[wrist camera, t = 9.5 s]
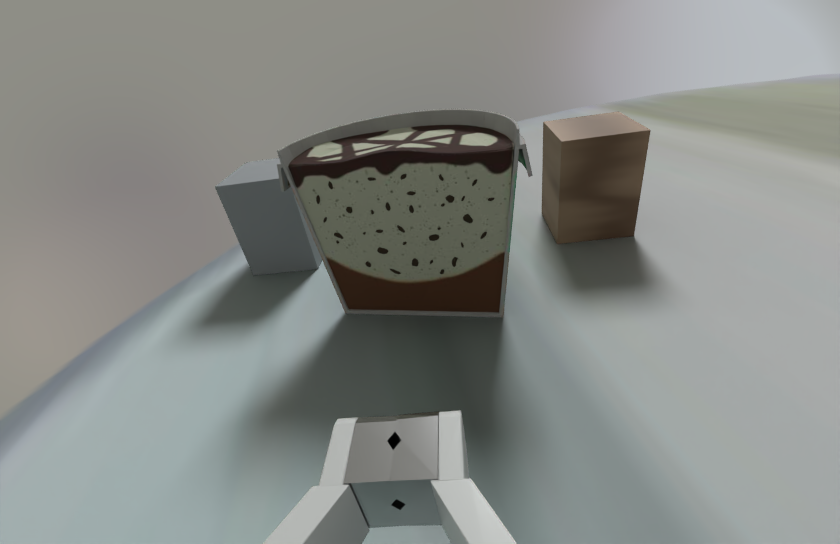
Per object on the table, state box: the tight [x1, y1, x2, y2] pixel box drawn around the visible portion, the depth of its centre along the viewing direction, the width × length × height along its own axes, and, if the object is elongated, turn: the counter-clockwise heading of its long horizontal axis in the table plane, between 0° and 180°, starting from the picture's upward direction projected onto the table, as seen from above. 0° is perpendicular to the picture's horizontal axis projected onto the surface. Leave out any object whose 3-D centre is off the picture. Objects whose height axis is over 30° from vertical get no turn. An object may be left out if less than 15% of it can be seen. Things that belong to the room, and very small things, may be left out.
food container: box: [277, 109, 532, 317], centre depth 23 cm, size 12×6×10 cm, turn 78°
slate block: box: [215, 158, 322, 275], centre depth 30 cm, size 5×5×7 cm
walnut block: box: [542, 112, 650, 244], centre depth 28 cm, size 5×5×7 cm
